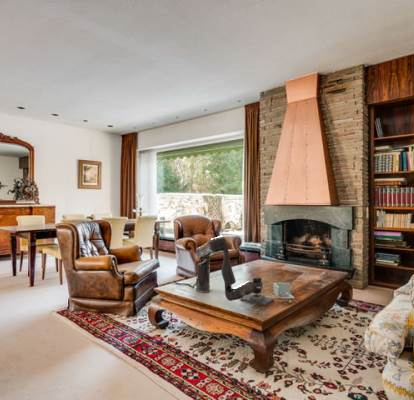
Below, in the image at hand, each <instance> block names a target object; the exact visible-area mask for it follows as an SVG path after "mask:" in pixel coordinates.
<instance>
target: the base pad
mask: <svg viewBox="0 0 414 400" xmlns="http://www.w3.org/2000/svg"><path fill="white" fill-rule="evenodd" d="M239 300H240V301H242V302H245V303H250V304H254V305H258V306H262V307H266V306H268V305H269V304H271V303H273V302H274V301H275V298H272V297H269V296H265V294H261V293H259V294H256V293H251V294H249V295H246V296H244V297H243V298H241V299H239Z"/></svg>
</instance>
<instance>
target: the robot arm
mask: <svg viewBox="0 0 414 400" xmlns="http://www.w3.org/2000/svg"><path fill="white" fill-rule="evenodd" d="M220 252H222V254H223V260H222V265H221V276H222V281H223V283H224V296H225V298H226V300H227V301H229V302H233V301H238V300H240V299H241V298H243V297H244V296H246V295H249V294H254V293H253V292H254V291H255V289H258V288H259V289H260V290H261V291H262V290H263V281H261V282H260V283H253V281H250V280H249V281H244V282H243V283H241V284H239V285H238V286H236V287H233V288H232V285H234V284H235V283H236V281H237V280H236V277H235V273H234V271H233V267H232V263H231V257H230V256H231V255H230V251H229V247H228V243H227V240H226V238H225V237H224V236H223V235H220V236H217V237H213V238H211V239H209V240H208V241H207V242H205V243H204V244H202V245H201V246H197V248H195V252H194V253H195V257H196V259H198V260H203V261H201V262H199V263H197V277H196V281H195V283H194V284H193V285H191V284H189V283H185V282H184V283H181V282H180V283H179V282H177V281H176V280H173V281H172V282H173V283H175V284H176V285H186V286H189V287H191V288H195V287H196V288H195V289H196V291H197V292H200V293H208V292H210V288H211V283H210V281H211V279H210V278H211V276H210V275H211V274H210V273H211V271H210V270H211V269H210V268H211V256H213V255H215V254H218V253H220ZM171 323H173V313H171V312H170V324H171Z"/></svg>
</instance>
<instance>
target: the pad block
mask: <svg viewBox="0 0 414 400" xmlns="http://www.w3.org/2000/svg"><path fill="white" fill-rule="evenodd" d="M252 282H253V283H260V282H262V277H260V276H259V277H258V276H256V277H253V278H252ZM255 293H256V294H261V293H262V290H260V289H259V288H258V289H255V291H254V292H253V293H252V294H255Z"/></svg>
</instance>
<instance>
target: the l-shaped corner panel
mask: <svg viewBox="0 0 414 400" xmlns="http://www.w3.org/2000/svg"><path fill="white" fill-rule="evenodd" d="M273 294H274V295H275V296H276V297H277V298H278V299H296V297H295V296H293V294H292V293H291V283H290V282H273Z"/></svg>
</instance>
